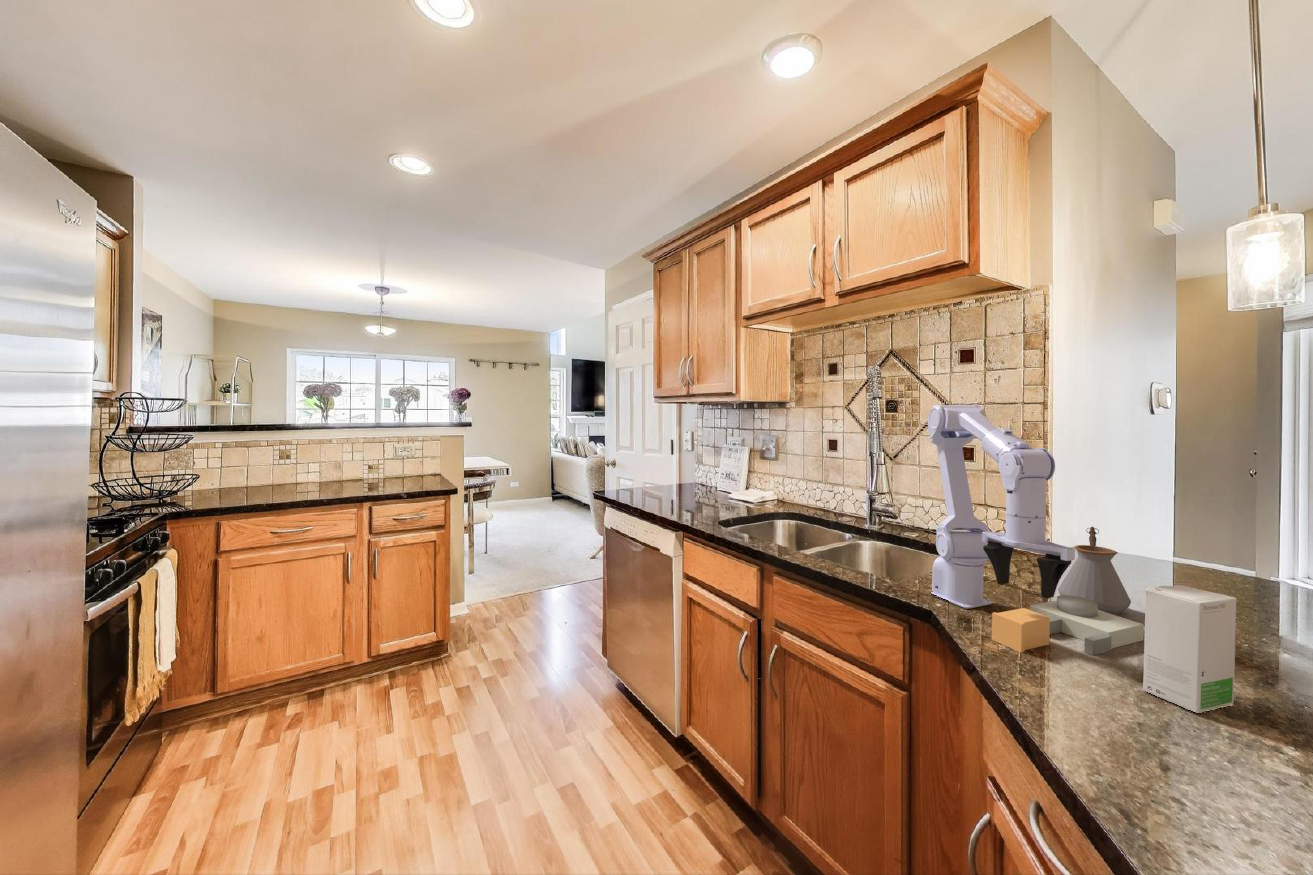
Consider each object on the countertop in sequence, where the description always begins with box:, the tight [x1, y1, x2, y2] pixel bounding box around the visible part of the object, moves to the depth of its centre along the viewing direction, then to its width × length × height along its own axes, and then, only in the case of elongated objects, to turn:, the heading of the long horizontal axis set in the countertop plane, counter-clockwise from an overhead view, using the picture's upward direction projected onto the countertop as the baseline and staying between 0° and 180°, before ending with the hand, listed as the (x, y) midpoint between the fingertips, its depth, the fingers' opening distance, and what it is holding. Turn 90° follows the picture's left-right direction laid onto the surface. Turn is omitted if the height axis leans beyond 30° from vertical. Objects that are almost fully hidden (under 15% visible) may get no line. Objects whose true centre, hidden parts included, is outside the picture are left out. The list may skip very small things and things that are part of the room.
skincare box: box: [1142, 584, 1237, 714], centre depth 69 cm, size 8×7×16 cm
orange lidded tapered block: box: [991, 607, 1050, 653], centre depth 87 cm, size 5×8×5 cm
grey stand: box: [1029, 594, 1144, 656], centre depth 91 cm, size 13×15×5 cm
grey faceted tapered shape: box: [1057, 526, 1132, 616], centre depth 106 cm, size 21×12×15 cm, turn 139°
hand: (1024, 590), depth 87 cm, fingers open, 7 cm apart
